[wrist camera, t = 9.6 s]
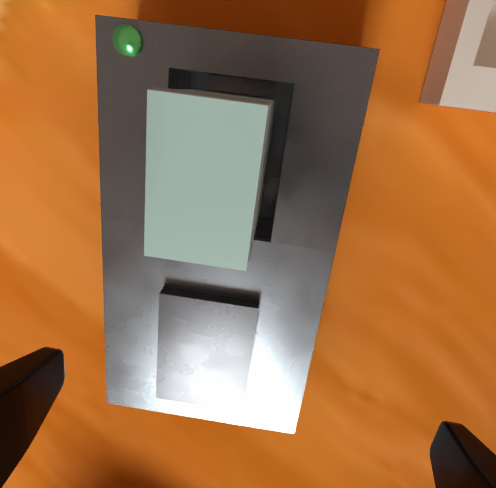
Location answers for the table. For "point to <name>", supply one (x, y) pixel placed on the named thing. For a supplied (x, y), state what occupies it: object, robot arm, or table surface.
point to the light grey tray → (464, 57)
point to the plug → (205, 174)
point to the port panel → (266, 234)
